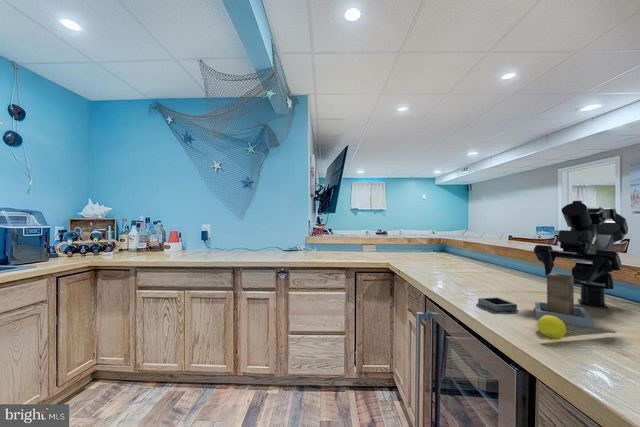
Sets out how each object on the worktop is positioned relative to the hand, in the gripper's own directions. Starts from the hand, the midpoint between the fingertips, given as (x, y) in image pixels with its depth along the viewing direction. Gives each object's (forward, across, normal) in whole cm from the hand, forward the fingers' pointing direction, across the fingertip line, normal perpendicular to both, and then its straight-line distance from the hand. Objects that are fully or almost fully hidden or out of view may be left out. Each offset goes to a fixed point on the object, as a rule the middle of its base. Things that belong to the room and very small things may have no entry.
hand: (566, 278), depth 80 cm
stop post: (+10, 0, +4) cm, 11 cm away
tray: (+11, 0, +5) cm, 12 cm away
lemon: (+22, +4, -6) cm, 23 cm away
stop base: (+16, -13, -1) cm, 21 cm away
